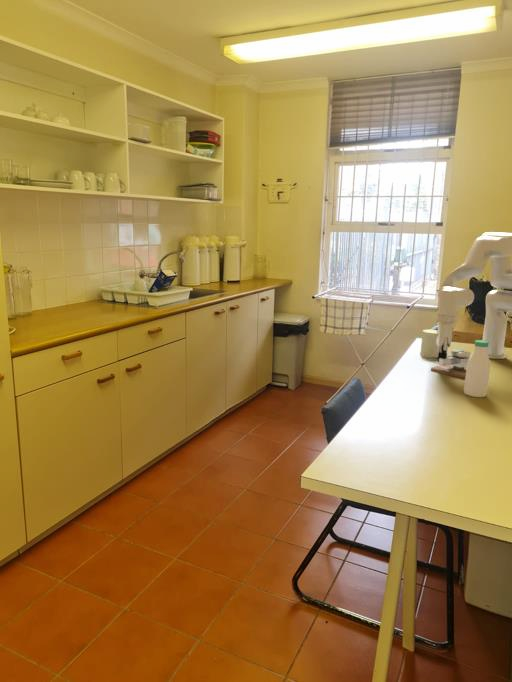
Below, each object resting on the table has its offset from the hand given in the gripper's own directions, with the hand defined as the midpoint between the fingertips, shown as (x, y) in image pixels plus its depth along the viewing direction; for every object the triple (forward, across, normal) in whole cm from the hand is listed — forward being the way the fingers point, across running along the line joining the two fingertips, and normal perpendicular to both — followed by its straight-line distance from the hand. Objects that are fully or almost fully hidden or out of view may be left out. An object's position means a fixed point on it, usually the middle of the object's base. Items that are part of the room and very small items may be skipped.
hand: (441, 361), depth 213 cm
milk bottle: (+4, +28, +9) cm, 30 cm away
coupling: (+1, 0, +4) cm, 5 cm away
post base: (+4, -2, +7) cm, 9 cm away
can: (+5, -28, -2) cm, 29 cm away
